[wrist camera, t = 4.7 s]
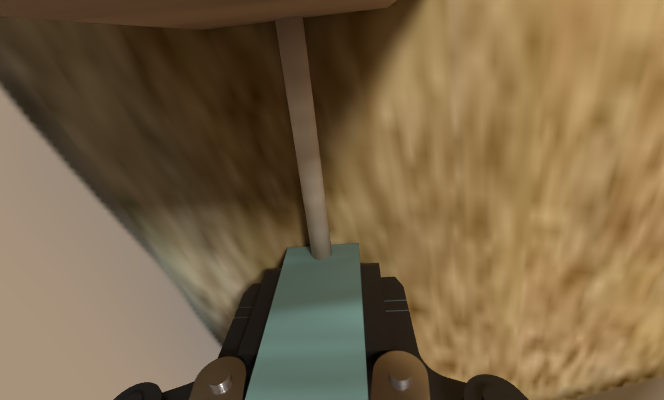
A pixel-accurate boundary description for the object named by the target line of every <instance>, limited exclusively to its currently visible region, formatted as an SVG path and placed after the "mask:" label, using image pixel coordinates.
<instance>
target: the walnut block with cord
mask: <svg viewBox="0 0 664 400" xmlns="http://www.w3.org/2000/svg"><path fill="white" fill-rule="evenodd" d="M396 1H397V0H0V17H15V18H29V19H44V20H59V21H73V22H88V23H103V24H117V25H132V26H147V27H161V28H176V29H191V30H206V29H214V28H223V27H231V26H239V25H248V24H256V23H264V22H273V21H275V25H276V31H277V37H278V44H279V50H280V56H281V62H282V69H283V75H284V81H285V88H286V94H287V100H288V107H289V113H290V119H291V126H292V132H293V138H294V145H295V151H296V157H297V164H298V170H299V176H300V183H301V189H302V195H303V202H304V208H305V214H306V221H307V227H308V233H309V239H310V246H307V247H290V248H287V252H286V256H285V259H284V263H283V266H282V270H281V273H280V277H279V280H278V284H277V288H276V291H275V295H274V298H273V302H272V305H271V309H270V312H269V316H268V320H267V323H266V327H265V330H264V334H263V337H262V341H261V344H260V348H259V351H258V355H257V359H256V362H255V366H254V369H253V373H252V376H251V380H250V383H249V387H248V391H247V394H246V398H245V400H369V391H368V378H367V366H366V353H365V337H364V321H363V305H362V289H361V273H360V255H359V243H356V244H340V245H331V242H330V234H329V225H328V217H327V209H326V201H325V193H324V185H323V177H322V169H321V161H320V152H319V144H318V136H317V128H316V120H315V112H314V104H313V96H312V88H311V80H310V71H309V63H308V55H307V47H306V39H305V31H304V23H303V18H306V17H314V16H323V15H331V14H339V13H348V12H356V11H364V10H373V9H381V8H388V7H389V6H391V5H392V4H393V3H394V2H396Z"/></svg>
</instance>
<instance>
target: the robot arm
mask: <svg viewBox="0 0 664 400" xmlns="http://www.w3.org/2000/svg"><path fill="white" fill-rule="evenodd" d="M281 270H282V268H275V269H267V270H266V273H265V275H264V278H263V281H262V284H253V285H252V286H251V287H250V288H249V289H248V290H247V291H246V292H245V293H244V294H243V297H242V299H241V302H240V304H239V309H237V312H236V314H235V319H233V321H232V324H231V326H230V329H229V331H228V334H227V336H226V339H225V341H224V344H223V346H222V349H221V351H220V354H219V357H218V358H217V359H216V360H214V361H212V362H211V363H209V364H208V365H207V366H205V367H204V368H203V369H202V370H201V372H200V373H199V374H198V376H197V378H196V379H195V381H194V382H192V383H189V384H187V385H184V386H181V387H178V388H175V389H172V390H169V391H166V392H163V393H162V392H161V390H160V388H159V386H157V385H156V384H154V383H150V382H144V383H140V384H136V385H134V386H132V387H130V388H128V389H126V390H125V391H124V392H122V393H121V394H119V395H118V396H117V397H116V398H115V399H114V400H245V398H246V394H247V391H248V387H249V383H250V380H251V376H252V373H253V369H254V366H255V362H256V359H257V355H258V351H259V348H260V344H261V341H262V337H263V334H264V330H265V327H266V323H267V320H268V316H269V312H270V309H271V305H272V302H273V298H274V295H275V291H276V288H277V284H278V280H279V277H280V273H281ZM360 273H361V289H362V305H363V321H364V337H365V353H366V366H367V378H368V391H369V400H528V399H527V398H526V397H525V396H524V395H523V394H522V393H521V392H520V391H519V390H518V389H517V388H516V387H515V386H514V385H513V384H511V383H510V382H508V381H506V380H504V379H503V378H500V377H498V376H494V375H488V374H483V375H477V376H475V377H473V378H471V379H470V380H469V381H468V382H467V383H465V382H461V381H458V380H454V379H450V378H447V377H444V376H442V375H440V374H438V373H436V372H434V371H433V370H432V369H430V368H429V367H428V366H427V365H426V364H425V363H424V361H423V360H422V358H421V356H420V354H419V351H418V348H417V343H416V339H415V335H414V330H413V326H412V322H411V317H410V313H409V309H408V304H407V301H406V296H405V291H404V287H403V286H402V285H401V283H400V282H399V281H398V280H397V279H396V277H381V275H380V268H379V263H367V264H360Z"/></svg>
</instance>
